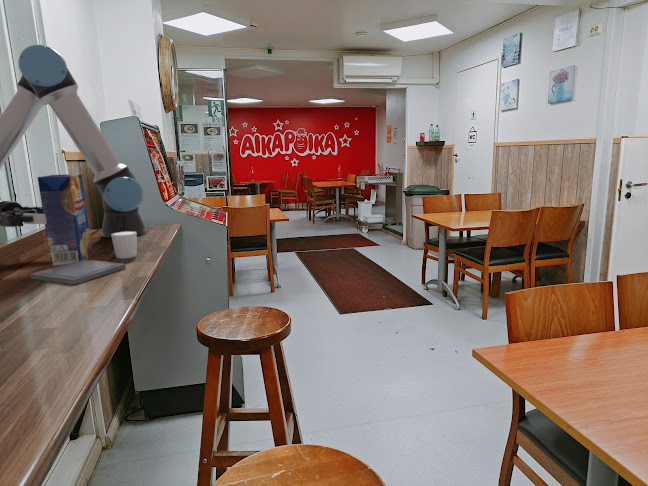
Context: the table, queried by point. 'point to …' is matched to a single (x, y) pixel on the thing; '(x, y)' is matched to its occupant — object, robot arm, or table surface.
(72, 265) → the slate board
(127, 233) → the white cup
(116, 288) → the table surface
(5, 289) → the table surface
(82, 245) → the juice carton
